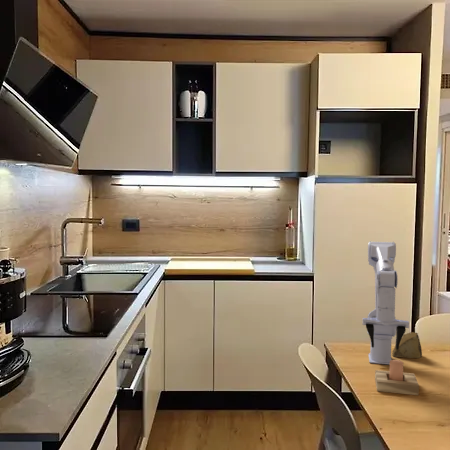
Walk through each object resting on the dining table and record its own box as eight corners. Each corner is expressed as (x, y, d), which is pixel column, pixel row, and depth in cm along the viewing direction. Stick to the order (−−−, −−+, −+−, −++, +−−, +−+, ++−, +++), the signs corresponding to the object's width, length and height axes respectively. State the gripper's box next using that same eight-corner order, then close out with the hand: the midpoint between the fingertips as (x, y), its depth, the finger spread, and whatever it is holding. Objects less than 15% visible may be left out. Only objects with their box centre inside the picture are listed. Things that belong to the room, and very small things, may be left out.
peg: (388, 383, 153) (389, 359, 152) (401, 385, 152) (402, 360, 151) (389, 388, 149) (390, 363, 148) (403, 390, 148) (404, 364, 147)
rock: (387, 352, 177) (416, 353, 171) (389, 330, 181) (417, 331, 176) (396, 363, 184) (423, 364, 178) (397, 342, 188) (424, 343, 183)
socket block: (375, 379, 157) (375, 370, 156) (413, 382, 154) (414, 373, 154) (377, 391, 147) (377, 381, 147) (418, 395, 144) (418, 385, 144)
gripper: (363, 308, 155) (362, 349, 156) (410, 311, 152) (409, 353, 153) (362, 303, 162) (361, 342, 163) (407, 306, 159) (406, 346, 159)
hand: (384, 347), depth 158 cm, fingers open, 7 cm apart
